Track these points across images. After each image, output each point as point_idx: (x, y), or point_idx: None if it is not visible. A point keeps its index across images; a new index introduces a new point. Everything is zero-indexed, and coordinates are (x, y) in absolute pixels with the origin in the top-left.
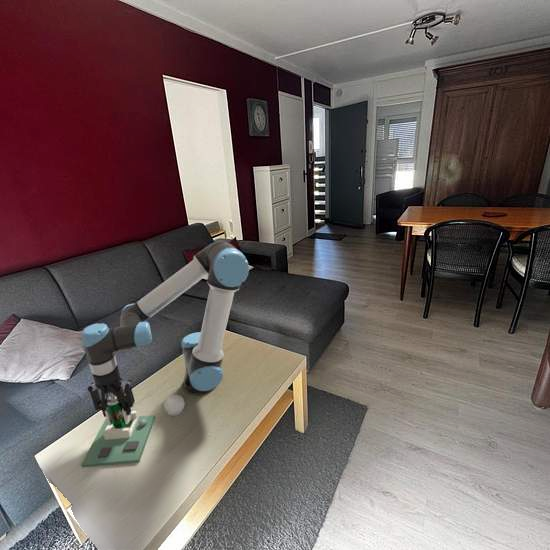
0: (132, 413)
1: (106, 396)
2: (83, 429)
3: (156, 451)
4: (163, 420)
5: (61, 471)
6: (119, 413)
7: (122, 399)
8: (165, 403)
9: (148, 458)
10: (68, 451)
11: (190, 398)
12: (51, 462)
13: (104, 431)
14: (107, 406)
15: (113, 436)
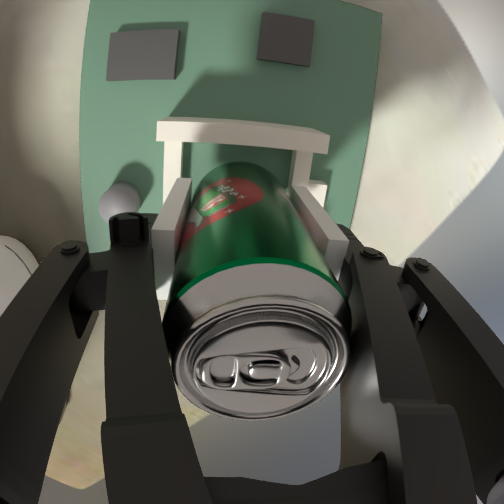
0: None
1: (359, 393)
2: (419, 229)
3: (35, 50)
4: (51, 222)
5: (442, 34)
6: (206, 211)
7: (105, 327)
8: (11, 292)
9: (62, 14)
10: (448, 125)
11: None
12: (483, 95)
13: (320, 140)
14: (327, 266)
15: (263, 123)
